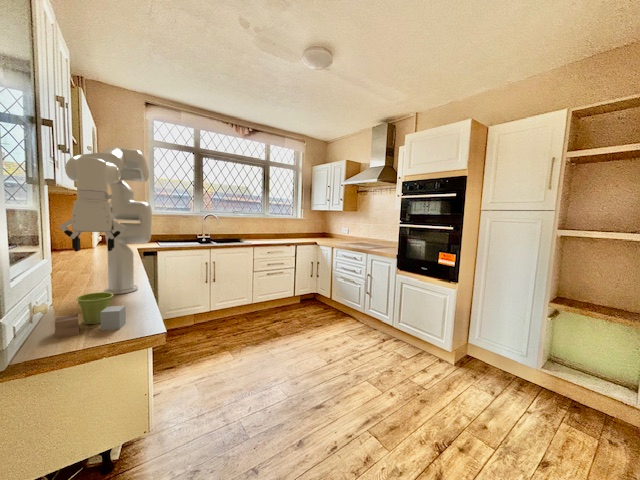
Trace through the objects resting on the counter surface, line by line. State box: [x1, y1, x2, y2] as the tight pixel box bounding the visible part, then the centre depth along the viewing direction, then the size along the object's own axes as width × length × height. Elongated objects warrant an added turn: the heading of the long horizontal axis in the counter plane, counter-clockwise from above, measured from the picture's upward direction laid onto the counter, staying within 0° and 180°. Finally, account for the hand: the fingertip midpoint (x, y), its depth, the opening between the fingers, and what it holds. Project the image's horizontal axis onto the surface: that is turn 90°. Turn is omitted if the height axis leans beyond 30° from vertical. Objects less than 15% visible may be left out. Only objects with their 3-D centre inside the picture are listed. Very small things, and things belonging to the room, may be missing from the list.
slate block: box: [100, 305, 127, 331], centre depth 85 cm, size 5×5×6 cm
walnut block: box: [54, 313, 80, 339], centre depth 79 cm, size 5×5×5 cm
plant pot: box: [75, 291, 114, 325], centre depth 89 cm, size 9×9×9 cm
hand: (94, 250), depth 87 cm, fingers open, 7 cm apart
